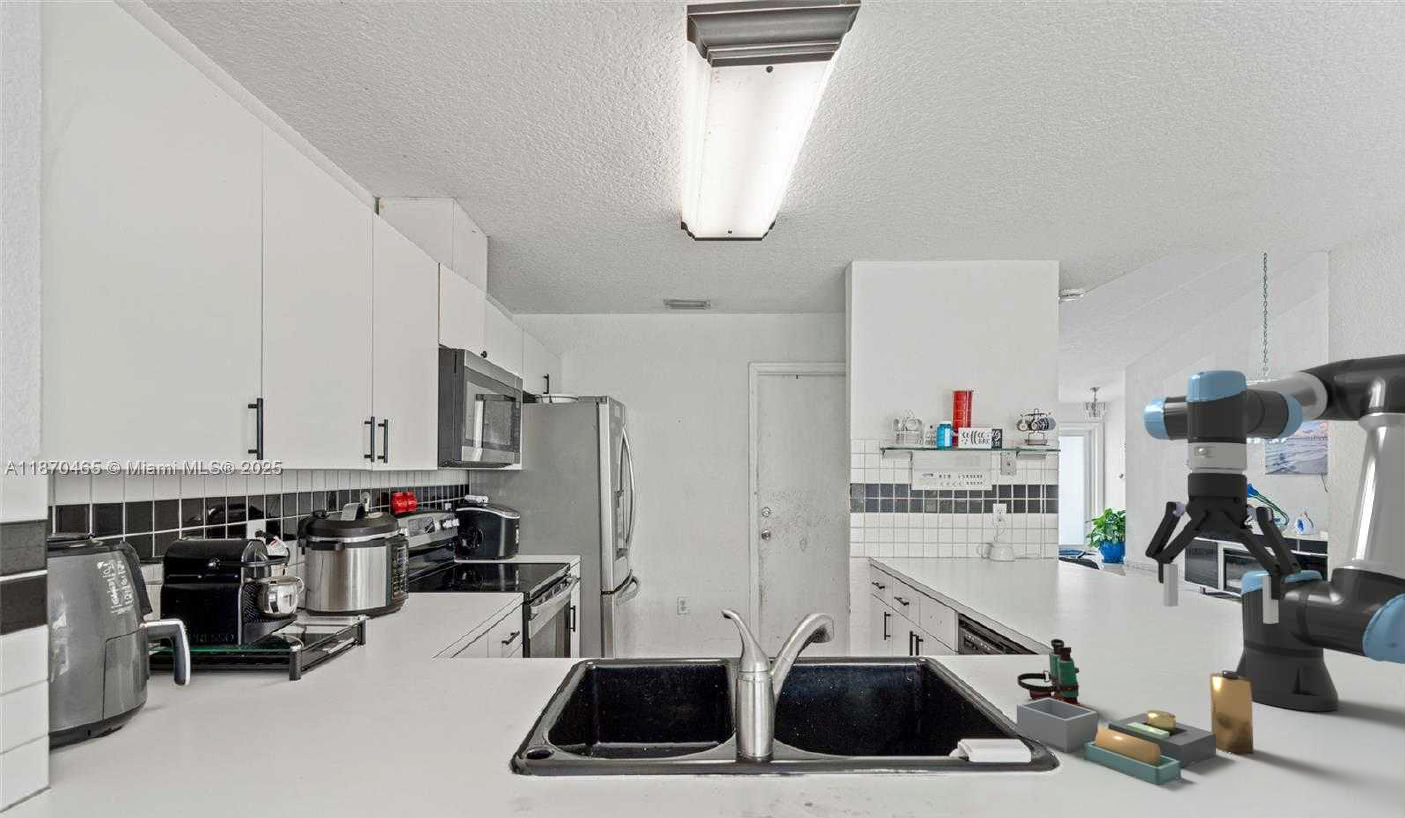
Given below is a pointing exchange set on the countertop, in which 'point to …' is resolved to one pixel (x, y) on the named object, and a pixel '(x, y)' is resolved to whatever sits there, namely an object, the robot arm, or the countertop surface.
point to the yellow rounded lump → (1162, 721)
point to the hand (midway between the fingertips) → (1218, 614)
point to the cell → (1232, 712)
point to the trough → (1132, 757)
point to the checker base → (1170, 739)
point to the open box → (1057, 724)
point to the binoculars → (1055, 677)
